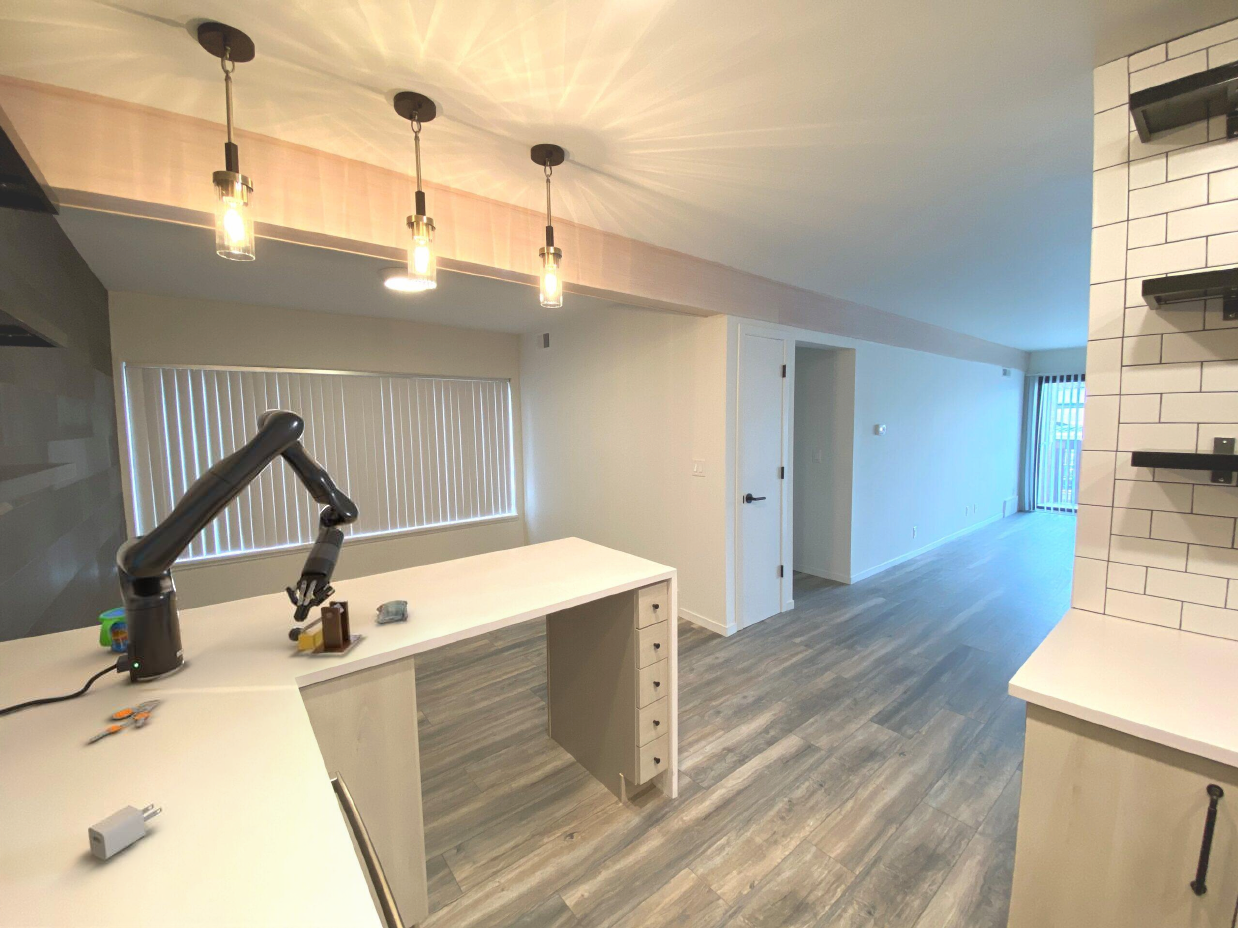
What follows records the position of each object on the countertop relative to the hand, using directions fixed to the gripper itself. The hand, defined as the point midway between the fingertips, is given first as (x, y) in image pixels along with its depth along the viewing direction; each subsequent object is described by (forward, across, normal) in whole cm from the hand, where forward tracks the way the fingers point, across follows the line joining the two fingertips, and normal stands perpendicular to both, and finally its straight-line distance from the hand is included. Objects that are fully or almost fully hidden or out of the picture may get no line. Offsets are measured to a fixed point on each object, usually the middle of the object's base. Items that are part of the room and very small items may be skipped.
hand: (298, 620), depth 133 cm
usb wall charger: (+49, +12, -38) cm, 63 cm away
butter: (+6, +4, +4) cm, 8 cm away
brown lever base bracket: (+6, +10, +4) cm, 13 cm away
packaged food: (-6, +17, +17) cm, 25 cm away
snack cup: (+3, -47, +7) cm, 48 cm away
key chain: (+28, -15, -18) cm, 36 cm away
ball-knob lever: (+2, +6, 0) cm, 6 cm away
